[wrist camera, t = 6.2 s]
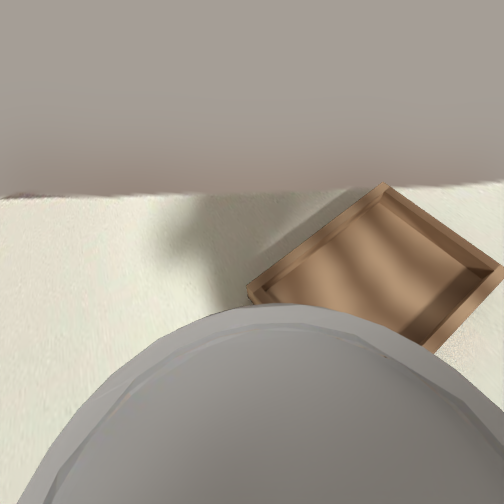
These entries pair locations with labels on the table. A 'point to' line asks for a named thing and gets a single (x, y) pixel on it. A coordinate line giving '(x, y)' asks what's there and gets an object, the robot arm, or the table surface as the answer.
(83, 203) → the table surface
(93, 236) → the table surface
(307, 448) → the disposable coffee cup
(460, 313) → the trough tray
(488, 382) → the table surface
